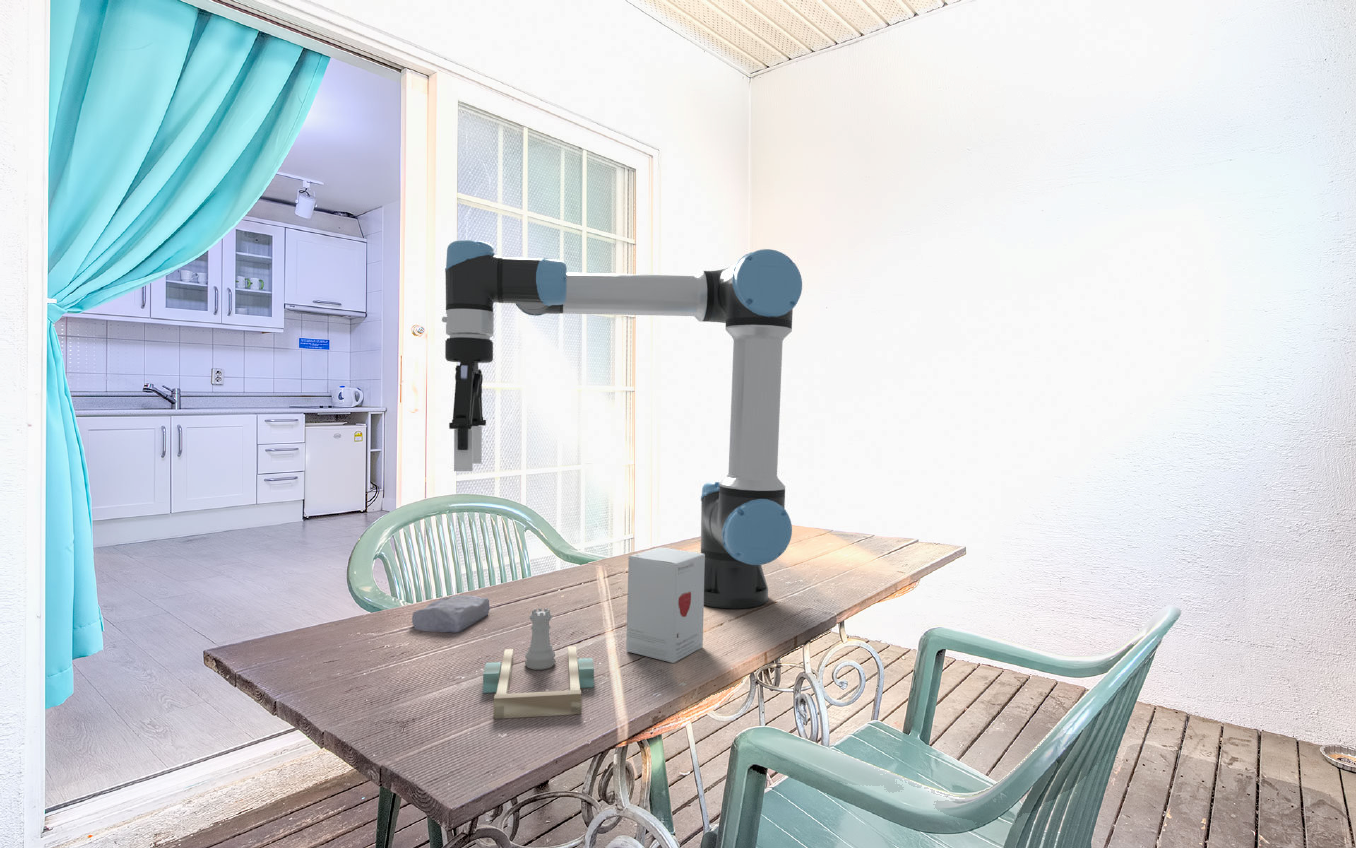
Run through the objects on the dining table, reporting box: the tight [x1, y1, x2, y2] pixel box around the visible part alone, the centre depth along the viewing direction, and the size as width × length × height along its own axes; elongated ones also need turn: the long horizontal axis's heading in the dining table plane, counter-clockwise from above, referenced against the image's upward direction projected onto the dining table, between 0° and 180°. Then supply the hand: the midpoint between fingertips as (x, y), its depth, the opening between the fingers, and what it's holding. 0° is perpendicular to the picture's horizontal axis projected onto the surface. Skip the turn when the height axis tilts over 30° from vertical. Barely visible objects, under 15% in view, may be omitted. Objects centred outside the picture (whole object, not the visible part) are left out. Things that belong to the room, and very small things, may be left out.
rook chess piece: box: [524, 607, 557, 671], centre depth 103 cm, size 4×4×8 cm
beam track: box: [482, 645, 595, 720], centre depth 96 cm, size 20×14×2 cm
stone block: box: [411, 594, 490, 634], centre depth 123 cm, size 12×5×10 cm
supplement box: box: [625, 546, 705, 664], centre depth 110 cm, size 9×9×15 cm
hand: (468, 467), depth 117 cm, fingers open, 13 cm apart
